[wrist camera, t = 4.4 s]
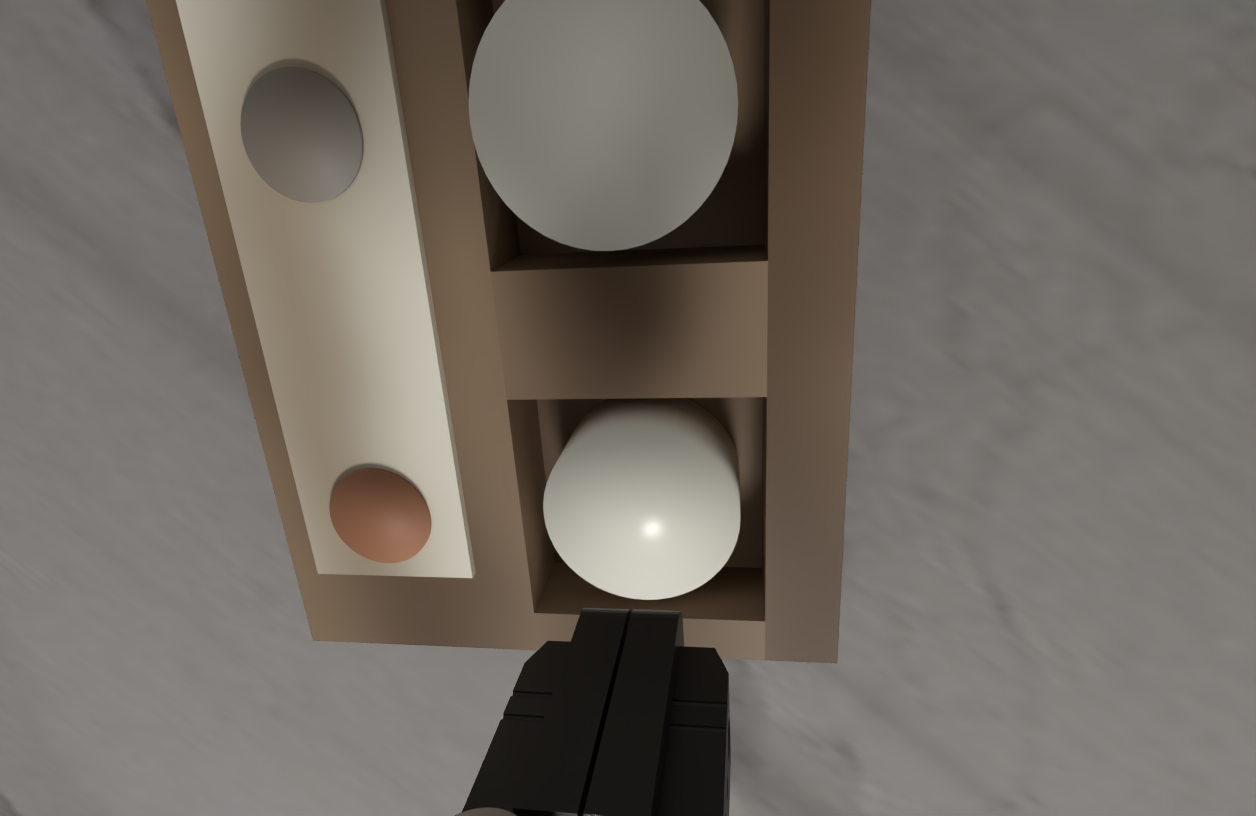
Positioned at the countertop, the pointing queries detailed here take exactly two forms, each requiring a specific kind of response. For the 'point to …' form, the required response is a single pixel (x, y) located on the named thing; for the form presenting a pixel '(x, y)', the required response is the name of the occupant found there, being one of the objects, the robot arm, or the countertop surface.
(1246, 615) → the countertop surface
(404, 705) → the countertop surface
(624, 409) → the button
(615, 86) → the button
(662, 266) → the button panel
